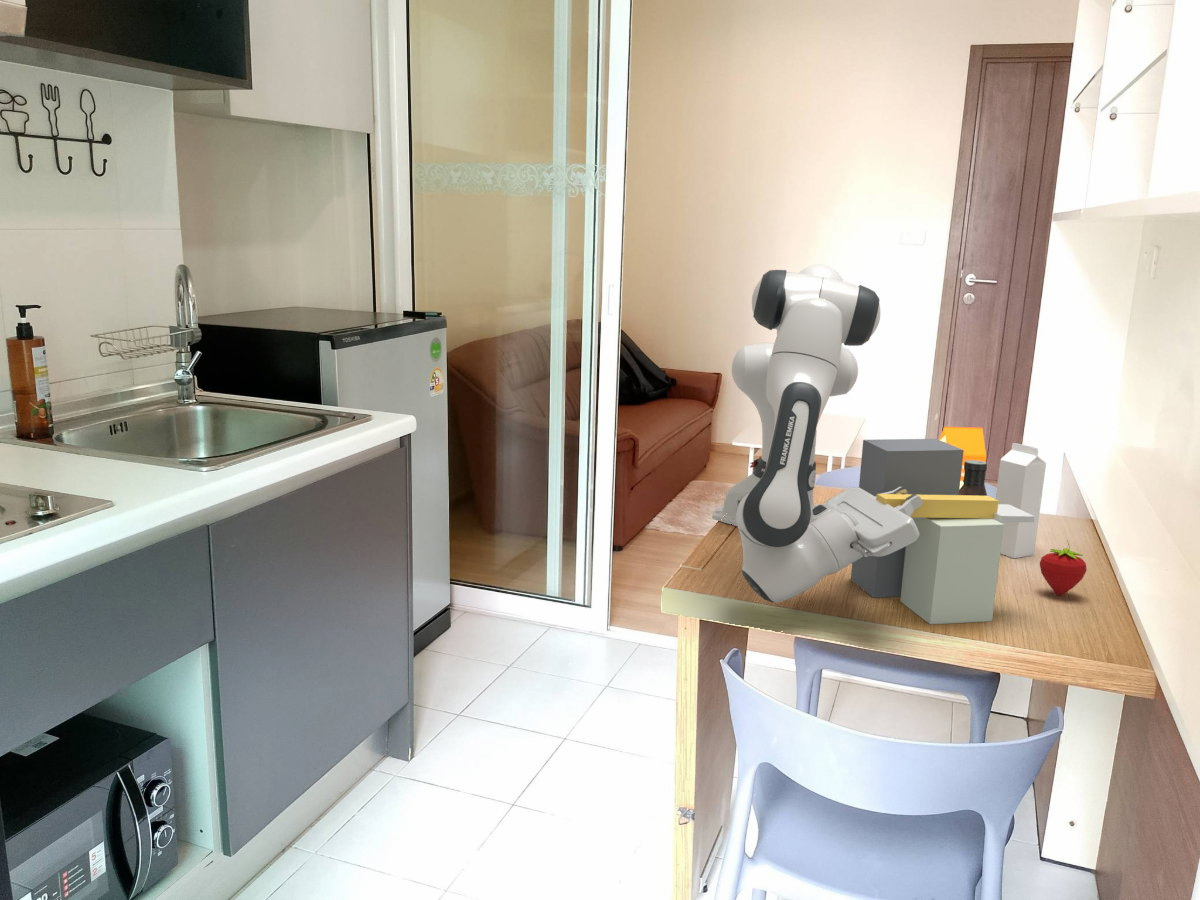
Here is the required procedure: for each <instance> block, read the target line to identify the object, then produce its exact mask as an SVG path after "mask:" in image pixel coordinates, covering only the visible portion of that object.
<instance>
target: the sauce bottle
mask: <svg viewBox="0 0 1200 900" xmlns="http://www.w3.org/2000/svg"><path fill="white" fill-rule="evenodd" d="M964 470H965V472H964V480H963V483H964V484H963V486H962V487H961V488H960V489H959V495H973V496H988V494H987V490H986V486H985V485H986V484H985V479H986V471H987V470H988V463H987V461H986V462H984V461H979V460H966V461H965V462H964Z"/></svg>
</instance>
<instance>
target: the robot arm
mask: <svg viewBox="0 0 1200 900" xmlns="http://www.w3.org/2000/svg"><path fill="white" fill-rule="evenodd" d="M754 287H755V288H754V289H753V292H752V297H751V308H752V312H753V316H752V317H753V318H754V320H755V322H756V323H757V324H758V325H760V326H762V327H764V328H766V329H767V330H770V331H772V330H776V337H775V340H774V342H760V343H754V344H753V343H752V344H748V345H742V347H740V349H739V350H738V351H736V353H735V355H734V357H733V359H732V364H731V377H732V379H733V381H734V384H735V385H736V387H737V388H738V390H740V391H741V392H742V393H744V394H745V395H746V396H747V397H748V398H749V399H750V401H751V402H752V403H753V405H754V406H755V408H756V411H758V414H759V418H760V421H761V431H762V433H761V434H762V435H761V436H762V438H761V439H762V442H761V444H762V445H761V455H760V456H759V457H758V458H757V459H754V460H753V461H752V462H750V465H749V468H750V469H751V468H753V469H752V470H753V471H752V473H751V474H750V475H748V476H746V477H745V478H744V479H741V481H739V482H737V483H736V484H734V485H733V486H731V487H730V488H729V489H728V490H727V492H726V494H725V498H724V501H723V505H721V506H720V507H716V509H714V511H713V512H712V516H711V518H712V520H713V521H714V520H715V521H719V522H721V523H725V524H728V525H731V524H732V526H735V527H737V529H738V532H739V536H740V541H741V546H742V547H741V548H742V566H741V573H742V576H743V578H744V579H745V581H746V583H747V584H748V585H749V586H750V587H751V589H752V590H753V591H754V593H756V594H757V595H758V596H759V597H760V598H761V599H763V600H765V601H767V602H769V603H775V604H779V603H782V602H785V601H787V600H790V599H792V598H794V597H797V596H798V595H800V594H802V593H804V592H806V591H808V590H810V589H811V588H812V587H813V588H814V586H816V585H817V584H818V583H819V582H820V581H821V580H822V579H823V578H824V577H827V576H828V575H831V574H835V573H838V572H840V571H841V570H843V569H845V568H847V567H849V565H852V563H853V562H855V561H857V560H858V559H860V558H862V557H863V556H864V557H868V556H877V557H882V556H886V555H888V554H891V553H893V552H895V551H897V550H899V549H901V548H903V547H905V546H907V545H909V544H911V543H913V542H915V541H916V540H917V539H918V537H919V535H920V534H919V531H918V529H917V526H916V524H915V522H914V520H913V519H912V518H911V517H910V516H911V514H912V513H913V512H914V510H915V509H917V508H918V507H920V506H922V504H923V502H922V500H921V498H920V497H919V496H918V495H916V494H912V495H911V496H909V497H907V498H906V502H905V503H904V504H903V505H902V506H900V505H899V506H897V507H895V508H894V507H892V506H890V505H889V504H885V505H884V504H883V503H881V502H879V501H877V500H876V496H873V495H871V494H870V493H868V492H866V491H865V490H863V489H861V488H860V487H859V486H856V487H855V486H854V487H849V488H847V489H845V490H843V491H841V492H840V493H838V494H836V495H833V497H831V498H829V499H828V500H826V501H825V502H824V503H823V504H822V503H817V504H815V505H814V489H815V484H816V480H817V479H816V478H817V462H816V461H815V458H816V456H815V455H816V446H817V432H818V431H817V428H818V425H819V421H820V420H821V416H822V415H823V412H824V410H825V408H826V406H827V403H828V401H829V399H830V397H837V396H842V395H843V396H844V395H846V394H847V393H848V394H849V392H850V391H851V390H852V388H853V387H854V386H855V384H856V381H857V379H858V374H859V367H858V366H859V365H858V362H857V359H856V357H855V355H854V354H853V352H852V351H851V350H850V349H849V348H846V347H844V346H849V347H853V346H854V347H856V346H863V345H864V344H865V343H867V342H868V341H870V338H871V337H872V336H873V335H874V333H875V332H876V330H877V328H878V326H879V325H880V320H881V304H880V297H879V296H878V294H877V293H876V291H875V290H872V289H871V288H869V287H866V286H864V285H861V284H860V285H858V286H857V285H856V284H852V283H850V282H847V281H844V280H843V277H842V276H841V274H840V273H839V272H838V271H837V270H836V269H834V268H832V267H830V266H828V265H825V264H813V265H808V266H806V267H805V268H803V269H801V270H800V271H799V272H787V269H771V270H768V271H766V272H765V273H764V274H763V275H762V277H761V278H760V279H759V281H758V282H757V284H756V286H754ZM842 345H844V346H842ZM881 494H908V493H907V490H906V489H904V488H902V487H898V488H897V489H895V490H893V491H890V492H885V493H881ZM726 513H727V514H726ZM724 515H725V516H724ZM723 516H724V517H723ZM721 519H722V521H720V520H721Z"/></svg>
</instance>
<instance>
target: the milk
mask: <svg viewBox="0 0 1200 900" xmlns="http://www.w3.org/2000/svg"><path fill="white" fill-rule="evenodd" d="M1010 449H1011V450H1009V451H1008V452H1007V453H1006V454H1005V455H1003V456H1002V457H1001V459H1000V460H999V466H998V467H999V470H998V475H997V486H996V494H995V499H996V500H999V504H1008V505H1011V506H1014V507H1016V508H1018V509H1020V510H1022V511H1024V512H1026V513H1028V514H1031V515H1033V516H1035V518H1034V522H1000V521H998V520H996V519H994V518H992V519H994V520H996V521H998V522H1000V523H1002V524H1004V530H1003V538H1002V546H1001V554H1000V555H1002V554H1003V556H1005V555H1006V557H1009V558H1010V559H1018V558H1024V557H1029V556H1033V555H1035V549H1036V542H1037V535H1038V526H1039V522H1040V521H1039V519H1040V514H1041V513H1040V512H1041V511H1040V510H1041V505H1042V497H1043V492H1044V491H1043V490H1044V483H1045V475H1046V468H1047V467H1046V466H1047V462H1045V460H1043V459H1042V458H1040V456H1039V455H1038V454H1039V448H1038V447H1033V446H1029V445H1026V444H1022V443H1021V444H1020V443H1016V442H1013V443H1012V444H1011V448H1010Z"/></svg>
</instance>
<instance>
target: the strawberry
mask: <svg viewBox="0 0 1200 900" xmlns="http://www.w3.org/2000/svg"><path fill="white" fill-rule="evenodd" d="M1066 542H1067V545H1068V547H1064V548H1063V549H1062V550H1061V549H1054V548H1050V550H1049V552H1050V553H1047V554H1044V555H1043V556H1042V557H1041V559H1040V561H1039V567H1040V568H1039V569H1040V572H1041V575H1042V576H1043V578H1044V580H1045V582H1047V583H1046V584H1048V586H1049V587H1050V588H1051V589H1052V591H1053V592H1054V594H1056V595H1057V596H1064V595H1066V594H1067V593H1068V592H1069V591H1070V590H1072V589H1073V588H1075V587H1076V586H1077V585H1078V584H1079V583H1080V582H1081V581H1083V578H1084V576H1085V575H1086V572H1087V563H1086V562H1085V560H1083V558H1081V557H1083V556H1084V555H1083V554H1081V553H1078V552H1076V551H1073V550H1070V549H1071V547H1070V546H1071V545H1070V543H1069V540H1068V539H1067V540H1066Z"/></svg>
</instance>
